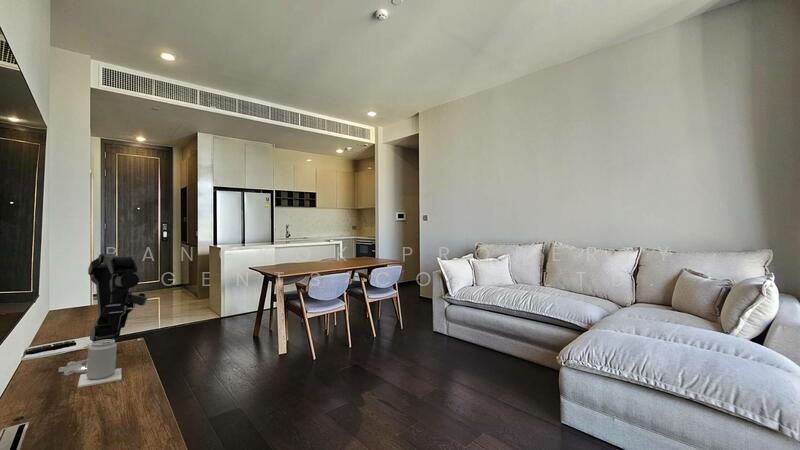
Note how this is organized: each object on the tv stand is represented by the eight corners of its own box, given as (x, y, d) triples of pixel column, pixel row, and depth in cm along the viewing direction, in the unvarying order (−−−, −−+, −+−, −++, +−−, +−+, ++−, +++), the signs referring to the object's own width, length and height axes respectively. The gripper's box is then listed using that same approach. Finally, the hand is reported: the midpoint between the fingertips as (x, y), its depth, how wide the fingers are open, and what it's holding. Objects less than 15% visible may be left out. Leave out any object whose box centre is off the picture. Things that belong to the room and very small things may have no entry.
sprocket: (61, 364, 128) (61, 359, 128) (115, 356, 138) (115, 352, 138) (55, 378, 116) (56, 373, 116) (115, 369, 126) (115, 364, 126)
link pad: (80, 376, 118) (80, 374, 118) (121, 369, 125) (121, 367, 125) (77, 387, 110) (77, 385, 110) (121, 379, 117) (121, 377, 117)
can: (105, 380, 115) (108, 344, 115) (80, 380, 113) (83, 344, 114) (119, 371, 122) (122, 338, 123) (96, 372, 121) (99, 338, 121)
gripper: (140, 287, 129) (139, 329, 127) (150, 286, 145) (149, 323, 143) (103, 290, 123) (101, 334, 121) (117, 288, 140) (115, 327, 138)
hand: (119, 329), depth 131 cm, fingers open, 9 cm apart
